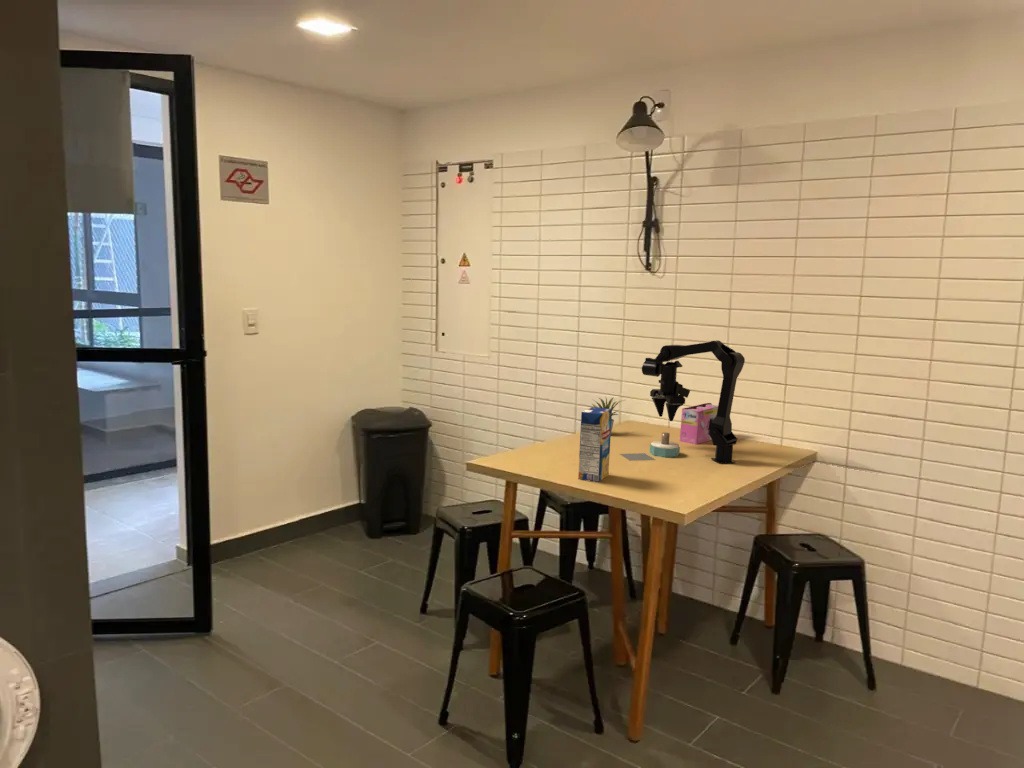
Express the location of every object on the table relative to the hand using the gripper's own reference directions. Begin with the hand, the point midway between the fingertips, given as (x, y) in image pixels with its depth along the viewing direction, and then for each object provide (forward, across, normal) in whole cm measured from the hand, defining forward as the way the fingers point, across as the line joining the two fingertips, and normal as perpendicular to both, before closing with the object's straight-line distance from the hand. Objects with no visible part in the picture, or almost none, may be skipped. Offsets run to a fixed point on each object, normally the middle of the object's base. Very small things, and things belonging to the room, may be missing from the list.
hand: (665, 418), depth 290 cm
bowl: (+12, -9, +4) cm, 16 cm away
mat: (+12, -12, +16) cm, 23 cm away
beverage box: (+12, -35, +41) cm, 55 cm away
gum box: (+12, +17, -25) cm, 32 cm away
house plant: (+12, +29, +12) cm, 34 cm away
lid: (+8, -9, +4) cm, 13 cm away
